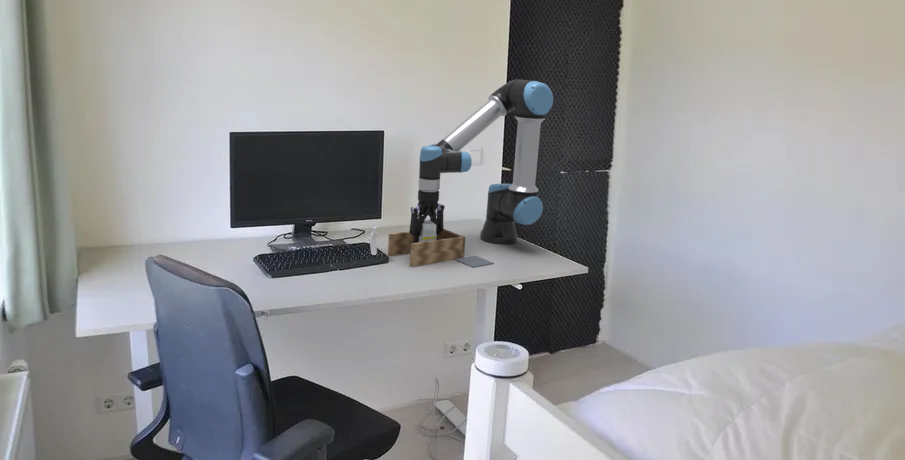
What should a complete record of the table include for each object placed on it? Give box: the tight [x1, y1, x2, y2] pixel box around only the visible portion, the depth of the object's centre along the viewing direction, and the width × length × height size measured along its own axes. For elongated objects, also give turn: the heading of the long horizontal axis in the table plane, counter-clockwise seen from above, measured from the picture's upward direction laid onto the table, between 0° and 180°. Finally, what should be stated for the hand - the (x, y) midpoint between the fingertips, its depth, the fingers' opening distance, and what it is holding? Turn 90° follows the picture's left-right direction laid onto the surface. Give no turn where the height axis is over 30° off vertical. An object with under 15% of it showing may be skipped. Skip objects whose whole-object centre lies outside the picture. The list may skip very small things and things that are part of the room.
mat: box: [454, 255, 494, 269], centre depth 258 cm, size 10×10×1 cm
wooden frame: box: [387, 228, 466, 267], centre depth 259 cm, size 24×15×8 cm, turn 129°
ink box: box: [420, 218, 436, 242], centre depth 257 cm, size 9×5×12 cm, turn 19°
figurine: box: [364, 225, 380, 255], centre depth 252 cm, size 9×9×12 cm
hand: (425, 251), depth 259 cm, fingers closed on ink box, 6 cm apart
